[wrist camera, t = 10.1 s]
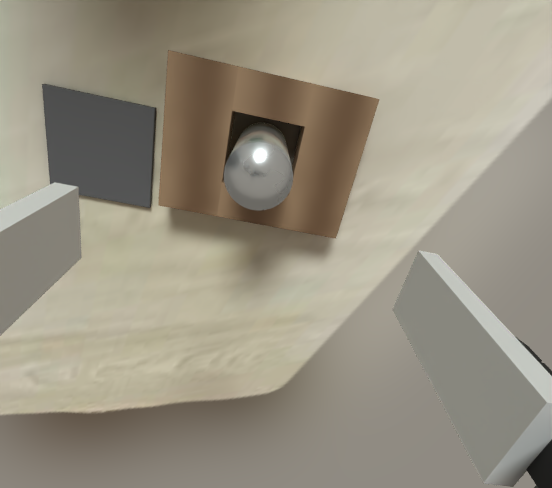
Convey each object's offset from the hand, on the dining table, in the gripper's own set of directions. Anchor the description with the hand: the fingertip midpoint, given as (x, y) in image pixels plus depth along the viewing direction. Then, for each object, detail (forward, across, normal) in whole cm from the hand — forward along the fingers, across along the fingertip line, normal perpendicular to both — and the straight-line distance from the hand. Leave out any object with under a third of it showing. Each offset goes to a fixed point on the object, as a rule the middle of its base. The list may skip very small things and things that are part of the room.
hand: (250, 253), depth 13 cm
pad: (+20, -14, -3) cm, 25 cm away
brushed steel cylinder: (+20, 0, 0) cm, 20 cm away
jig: (+20, 0, 0) cm, 20 cm away
